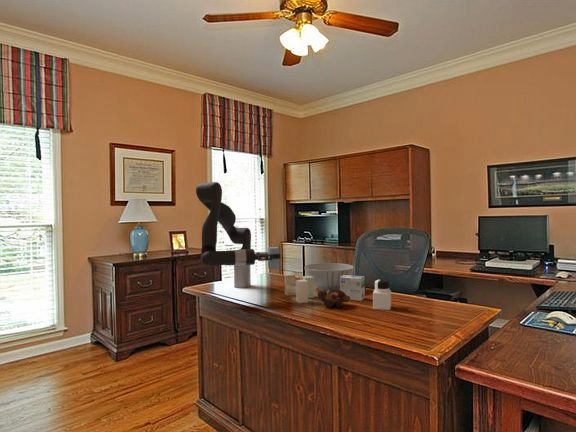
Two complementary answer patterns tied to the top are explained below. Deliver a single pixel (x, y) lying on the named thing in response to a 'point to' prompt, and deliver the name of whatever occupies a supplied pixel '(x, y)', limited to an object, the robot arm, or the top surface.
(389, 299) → the medicine bottle
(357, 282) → the light bulb box
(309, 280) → the sage pillar
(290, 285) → the maple pillar
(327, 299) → the decorative turtle
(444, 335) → the top surface
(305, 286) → the ivory pillar
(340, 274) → the decorative bowl
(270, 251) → the slate-blue pillar
